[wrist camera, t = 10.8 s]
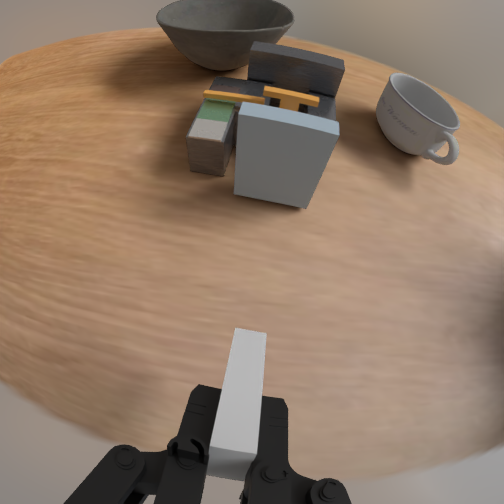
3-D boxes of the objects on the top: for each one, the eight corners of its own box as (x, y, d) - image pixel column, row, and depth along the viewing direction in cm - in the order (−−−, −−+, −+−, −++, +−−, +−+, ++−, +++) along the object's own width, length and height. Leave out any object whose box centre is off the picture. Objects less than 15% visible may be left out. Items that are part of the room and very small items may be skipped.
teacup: (361, 104, 36) (379, 62, 29) (420, 121, 37) (442, 86, 29) (383, 178, 31) (415, 133, 23) (449, 193, 31) (483, 158, 24)
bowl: (257, 110, 33) (267, 42, 24) (138, 81, 35) (127, 25, 26) (299, 55, 40) (310, 6, 31) (202, 33, 42) (202, -11, 33)
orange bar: (313, 114, 26) (319, 97, 24) (313, 119, 26) (319, 101, 24) (205, 95, 26) (205, 77, 24) (203, 100, 26) (202, 82, 24)
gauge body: (324, 115, 34) (343, 60, 26) (321, 196, 29) (351, 134, 20) (221, 95, 34) (223, 37, 26) (190, 170, 29) (181, 103, 20)
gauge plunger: (311, 149, 30) (336, 78, 21) (306, 208, 27) (339, 135, 18) (249, 136, 30) (257, 61, 21) (233, 194, 27) (238, 113, 18)
